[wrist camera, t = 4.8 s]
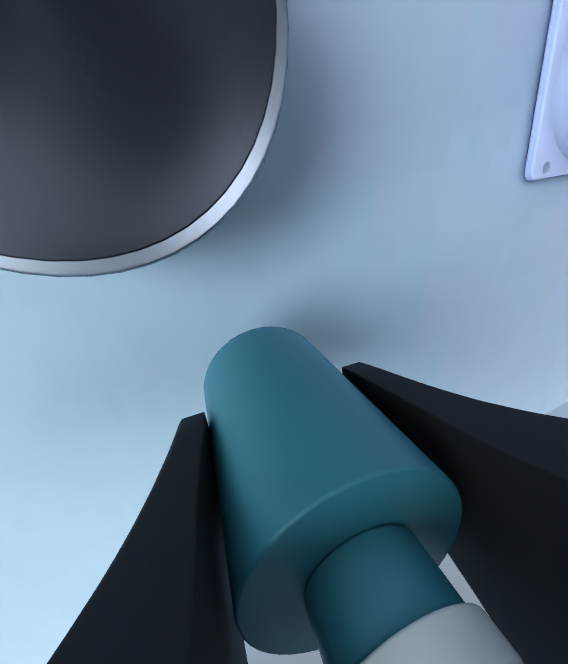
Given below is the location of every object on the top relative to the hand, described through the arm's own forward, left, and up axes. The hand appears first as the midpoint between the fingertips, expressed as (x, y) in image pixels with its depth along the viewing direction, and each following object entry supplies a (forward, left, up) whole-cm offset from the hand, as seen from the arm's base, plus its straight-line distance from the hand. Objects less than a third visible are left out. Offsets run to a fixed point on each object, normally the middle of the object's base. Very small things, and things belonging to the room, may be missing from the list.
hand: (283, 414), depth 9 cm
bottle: (0, 0, -2) cm, 2 cm away
